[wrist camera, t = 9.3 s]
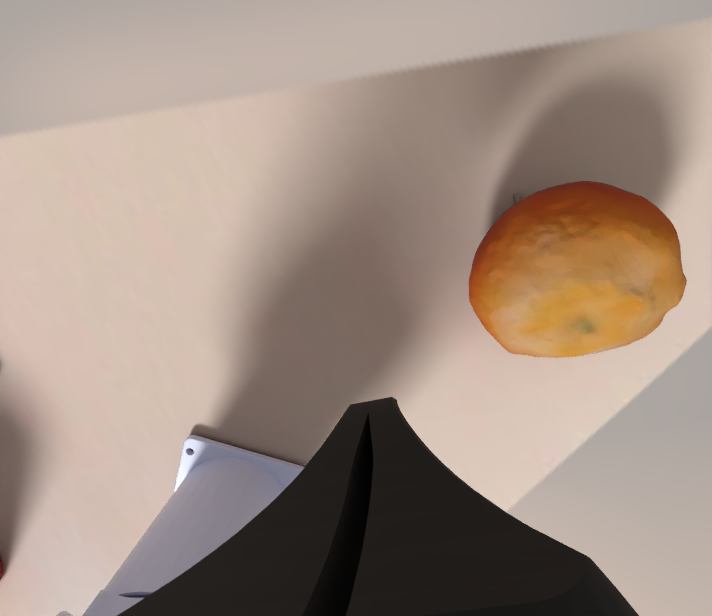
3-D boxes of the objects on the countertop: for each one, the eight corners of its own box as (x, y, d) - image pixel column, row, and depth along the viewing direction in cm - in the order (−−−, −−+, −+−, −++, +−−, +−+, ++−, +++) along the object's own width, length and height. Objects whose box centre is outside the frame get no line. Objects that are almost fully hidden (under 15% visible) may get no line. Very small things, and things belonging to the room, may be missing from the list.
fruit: (666, 163, 16) (797, 270, 10) (567, 288, 22) (618, 401, 16) (496, 128, 16) (536, 216, 10) (441, 262, 22) (447, 366, 16)
